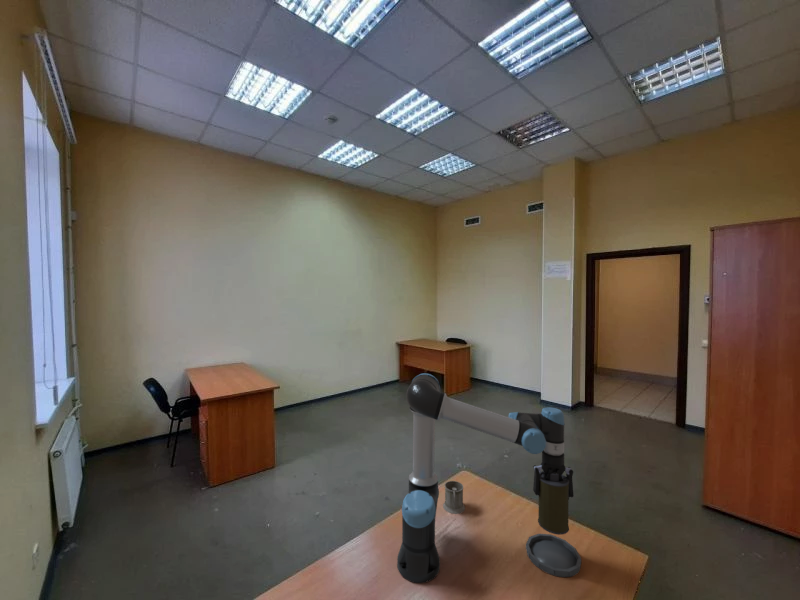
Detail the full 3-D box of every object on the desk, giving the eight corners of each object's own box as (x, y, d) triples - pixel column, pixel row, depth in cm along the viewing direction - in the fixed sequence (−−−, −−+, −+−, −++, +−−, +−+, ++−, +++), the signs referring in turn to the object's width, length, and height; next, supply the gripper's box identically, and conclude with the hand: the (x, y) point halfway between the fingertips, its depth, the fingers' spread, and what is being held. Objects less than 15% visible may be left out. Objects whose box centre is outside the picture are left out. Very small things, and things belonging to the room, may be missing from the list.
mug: (443, 499, 156) (443, 474, 156) (464, 501, 155) (464, 475, 155) (442, 519, 142) (442, 491, 142) (466, 521, 141) (466, 493, 141)
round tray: (534, 574, 114) (534, 568, 114) (521, 537, 132) (521, 532, 132) (589, 579, 112) (589, 573, 112) (568, 541, 129) (568, 536, 129)
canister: (572, 536, 115) (573, 479, 115) (541, 532, 117) (541, 476, 117) (564, 517, 126) (564, 464, 126) (535, 513, 128) (535, 461, 128)
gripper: (528, 454, 119) (529, 518, 119) (584, 457, 117) (584, 522, 117) (523, 445, 127) (523, 505, 126) (576, 448, 124) (576, 509, 124)
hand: (553, 513), depth 122 cm, fingers open, 6 cm apart
